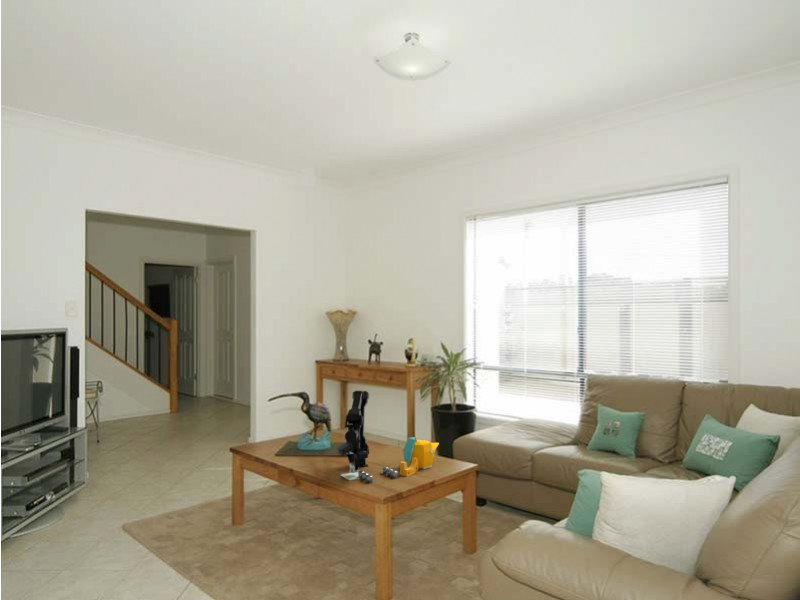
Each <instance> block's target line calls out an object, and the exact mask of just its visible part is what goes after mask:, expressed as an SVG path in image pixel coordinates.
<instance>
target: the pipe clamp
mask: <svg viewBox="0 0 800 600" xmlns="http://www.w3.org/2000/svg"><path fill="white" fill-rule="evenodd" d="M418 471H419V469H418V458H415V457H414V458H412V462H411V465H410V466H408V467H407V462H404V460H403V461H402V460H401V461H400V462H399V475H400V476H403V477H410V476H412V475H414V474H415V473H416V472H418Z"/></svg>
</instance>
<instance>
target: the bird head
mask: <svg viewBox="0 0 800 600" xmlns="http://www.w3.org/2000/svg"><path fill="white" fill-rule="evenodd" d="M439 445H440V443H439V442H430V441H429V440H427V439H426V440H424V439H417V438H416V437H414V436H412V437H411V436H410V437H408V438H407V440H406V443H405V445H404V447H403V449H402V451H403V452H402V453H403V462H407V467H409V466H410V465H411V462H412V458H414V457H415V458H418V470H426V469H429V468H432V467H433V465H434V463H433V462H434V456H435V452H436V450H437V448H438V446H439Z"/></svg>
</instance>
